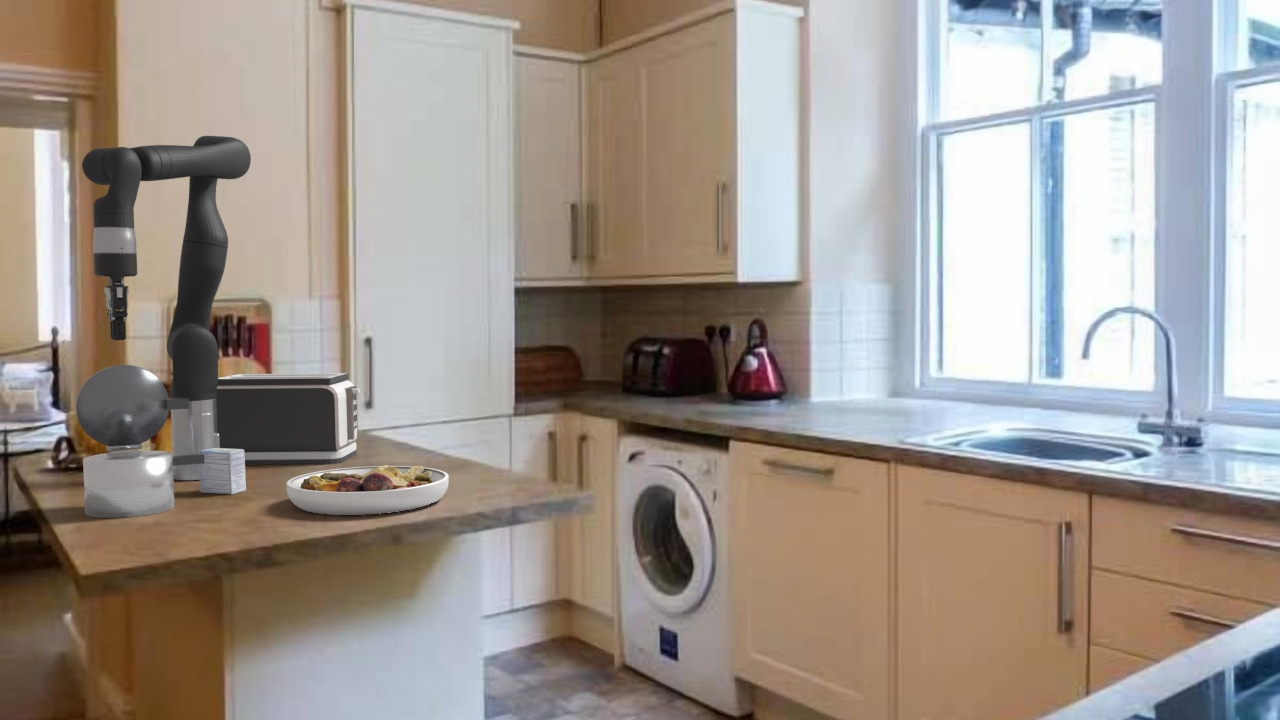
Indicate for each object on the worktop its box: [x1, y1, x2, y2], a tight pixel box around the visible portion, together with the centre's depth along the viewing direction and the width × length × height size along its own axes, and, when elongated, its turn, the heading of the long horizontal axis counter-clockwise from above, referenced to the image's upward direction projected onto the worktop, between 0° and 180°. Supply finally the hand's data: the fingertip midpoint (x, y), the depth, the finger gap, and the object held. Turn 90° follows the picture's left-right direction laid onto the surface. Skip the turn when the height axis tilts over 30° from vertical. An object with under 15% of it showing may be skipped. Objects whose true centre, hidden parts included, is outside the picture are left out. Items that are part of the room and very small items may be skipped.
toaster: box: [216, 372, 361, 466], centre depth 261 cm, size 19×35×20 cm, turn 90°
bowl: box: [286, 464, 450, 516], centre depth 204 cm, size 30×30×8 cm
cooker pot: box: [82, 449, 204, 519], centre depth 201 cm, size 20×17×10 cm
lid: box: [75, 364, 189, 452], centre depth 205 cm, size 20×17×3 cm
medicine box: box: [199, 448, 247, 495], centre depth 217 cm, size 8×4×9 cm, turn 71°
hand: (118, 339), depth 208 cm, fingers open, 4 cm apart
